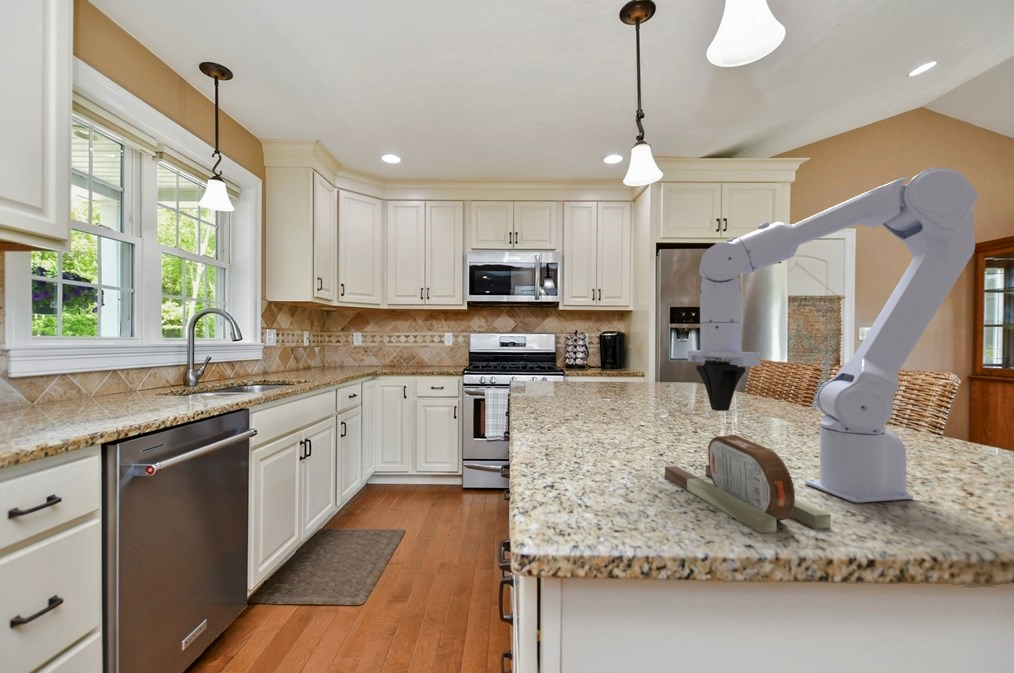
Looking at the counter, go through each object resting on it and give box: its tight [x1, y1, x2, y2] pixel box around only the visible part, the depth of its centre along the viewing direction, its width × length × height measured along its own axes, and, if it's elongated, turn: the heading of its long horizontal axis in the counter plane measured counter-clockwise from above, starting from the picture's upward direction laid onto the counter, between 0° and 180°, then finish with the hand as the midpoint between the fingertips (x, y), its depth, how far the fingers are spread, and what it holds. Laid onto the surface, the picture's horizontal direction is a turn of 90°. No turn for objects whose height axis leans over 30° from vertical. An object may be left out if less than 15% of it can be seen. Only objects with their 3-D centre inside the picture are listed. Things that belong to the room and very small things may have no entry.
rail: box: [664, 464, 832, 534], centre depth 58 cm, size 9×20×2 cm, turn 10°
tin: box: [707, 434, 796, 521], centre depth 55 cm, size 15×3×8 cm, turn 2°
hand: (720, 410), depth 67 cm, fingers closed
